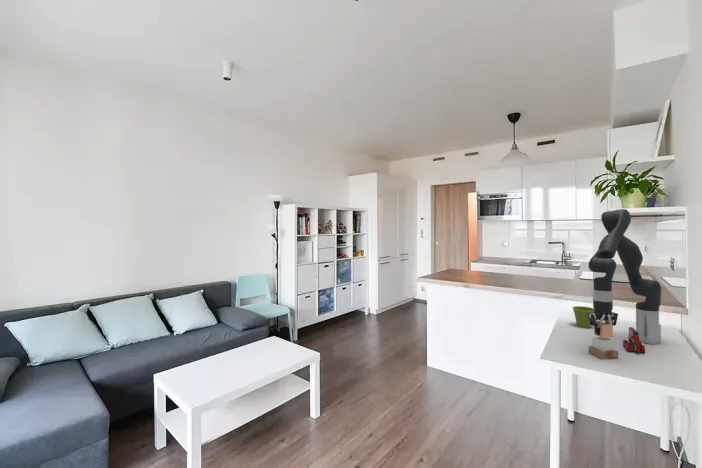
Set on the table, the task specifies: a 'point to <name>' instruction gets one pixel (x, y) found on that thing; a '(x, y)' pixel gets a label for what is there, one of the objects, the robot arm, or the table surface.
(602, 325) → the terracotta block
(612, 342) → the greygreen middle
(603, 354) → the walnut base
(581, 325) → the plant pot
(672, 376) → the table surface
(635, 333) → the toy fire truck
